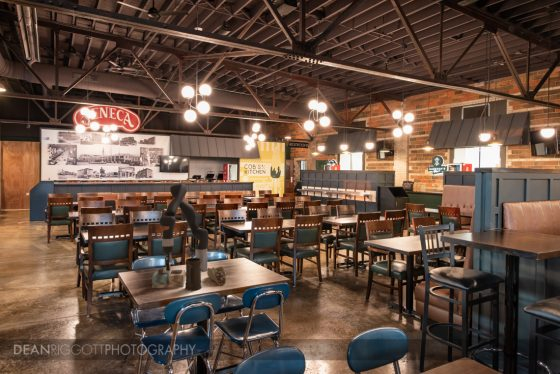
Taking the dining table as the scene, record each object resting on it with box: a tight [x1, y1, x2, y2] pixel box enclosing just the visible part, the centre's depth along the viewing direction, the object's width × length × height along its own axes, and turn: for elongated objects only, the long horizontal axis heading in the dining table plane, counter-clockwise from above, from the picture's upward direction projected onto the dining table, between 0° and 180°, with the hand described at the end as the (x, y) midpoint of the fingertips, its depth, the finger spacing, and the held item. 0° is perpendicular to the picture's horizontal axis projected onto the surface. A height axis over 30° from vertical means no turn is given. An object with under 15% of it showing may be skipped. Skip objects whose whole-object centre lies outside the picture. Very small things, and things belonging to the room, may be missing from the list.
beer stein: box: [184, 257, 202, 292], centre depth 244 cm, size 15×11×20 cm
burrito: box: [206, 266, 227, 286], centre depth 265 cm, size 10×27×10 cm, turn 28°
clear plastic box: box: [151, 267, 186, 289], centre depth 255 cm, size 20×14×11 cm
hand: (168, 269), depth 255 cm, fingers closed on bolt, 3 cm apart
